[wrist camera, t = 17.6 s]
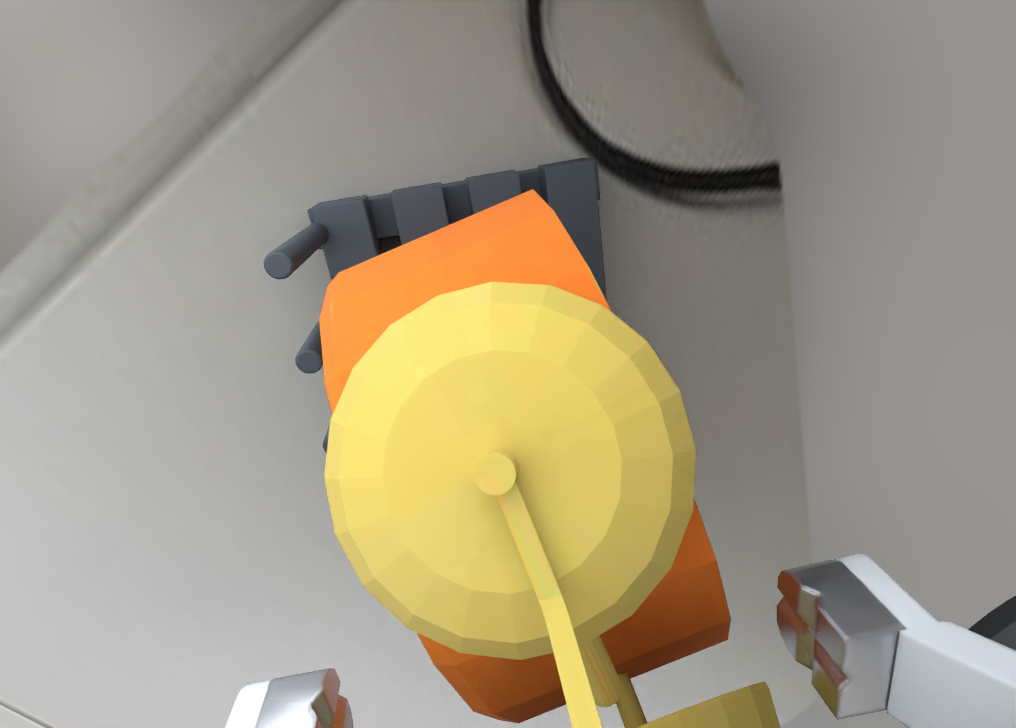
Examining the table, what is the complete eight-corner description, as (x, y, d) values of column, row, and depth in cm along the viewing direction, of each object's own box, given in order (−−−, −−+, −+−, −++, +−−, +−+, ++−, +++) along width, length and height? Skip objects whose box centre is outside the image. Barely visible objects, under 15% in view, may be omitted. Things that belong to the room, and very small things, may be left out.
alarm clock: (356, 233, 21) (-110, 801, 3) (503, 170, 21) (969, 362, 3) (487, 493, 27) (612, 1285, 8) (606, 443, 26) (1008, 1141, 8)
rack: (587, 154, 24) (667, 161, 16) (612, 430, 30) (682, 542, 21) (313, 201, 24) (248, 233, 15) (389, 475, 29) (372, 609, 21)
